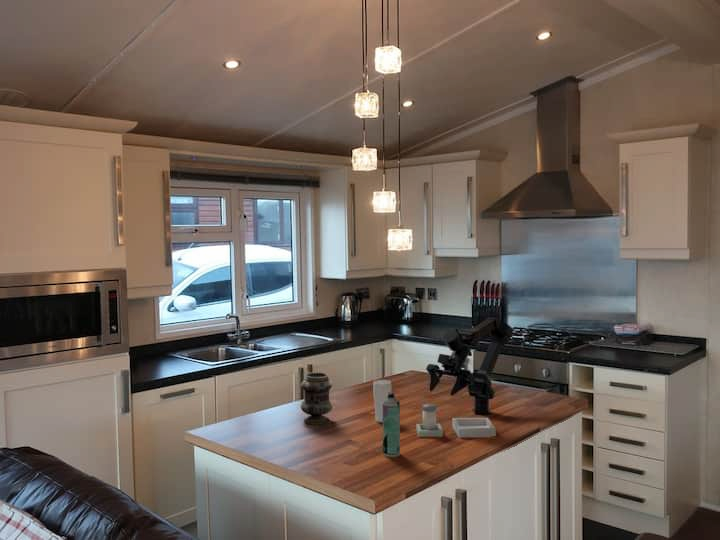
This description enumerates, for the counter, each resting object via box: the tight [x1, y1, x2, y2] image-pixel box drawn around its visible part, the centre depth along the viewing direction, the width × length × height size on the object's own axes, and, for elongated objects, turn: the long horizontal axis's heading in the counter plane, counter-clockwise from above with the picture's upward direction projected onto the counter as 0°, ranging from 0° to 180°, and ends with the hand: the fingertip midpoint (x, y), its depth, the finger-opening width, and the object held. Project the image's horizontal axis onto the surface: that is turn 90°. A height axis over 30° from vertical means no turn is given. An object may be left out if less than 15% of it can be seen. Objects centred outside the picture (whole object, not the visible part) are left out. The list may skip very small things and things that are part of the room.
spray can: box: [382, 391, 401, 458], centre depth 201 cm, size 6×6×20 cm
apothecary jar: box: [300, 371, 333, 426], centre depth 237 cm, size 12×12×18 cm
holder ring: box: [415, 423, 444, 438], centre depth 223 cm, size 8×8×2 cm
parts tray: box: [452, 417, 497, 439], centre depth 224 cm, size 13×13×3 cm
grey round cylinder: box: [421, 403, 437, 430], centre depth 222 cm, size 5×5×10 cm
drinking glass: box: [372, 379, 392, 424], centre depth 237 cm, size 7×7×15 cm
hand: (440, 393), depth 227 cm, fingers open, 9 cm apart
